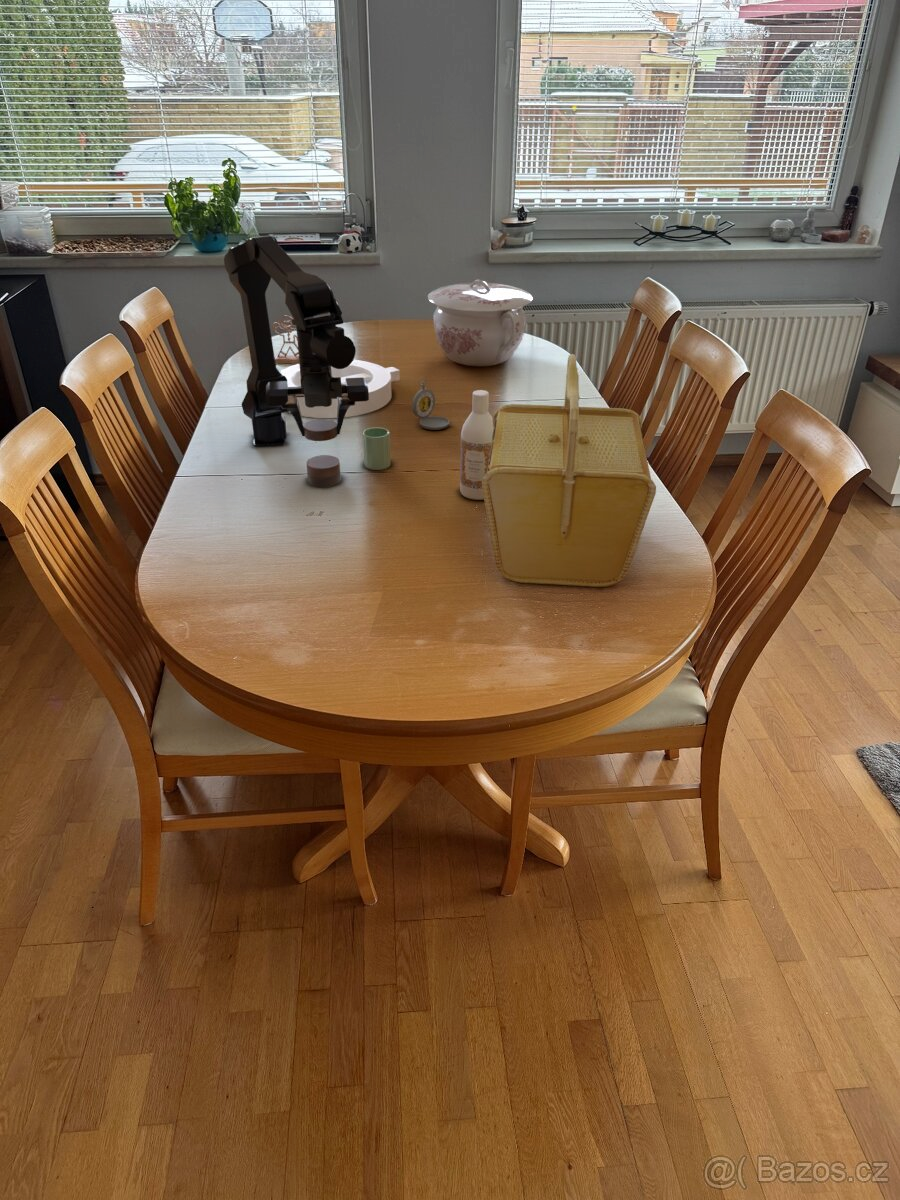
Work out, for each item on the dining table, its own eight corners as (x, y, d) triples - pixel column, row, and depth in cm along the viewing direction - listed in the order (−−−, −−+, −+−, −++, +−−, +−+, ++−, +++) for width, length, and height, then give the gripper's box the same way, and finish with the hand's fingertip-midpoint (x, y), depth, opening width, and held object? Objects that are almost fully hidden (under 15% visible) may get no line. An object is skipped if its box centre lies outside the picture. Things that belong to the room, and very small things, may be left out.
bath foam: (455, 498, 167) (456, 396, 156) (465, 483, 173) (467, 384, 162) (490, 503, 165) (494, 401, 155) (500, 487, 171) (504, 388, 160)
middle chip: (307, 479, 169) (306, 469, 168) (307, 465, 175) (306, 456, 174) (341, 477, 170) (340, 467, 169) (339, 463, 175) (338, 454, 174)
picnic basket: (490, 505, 165) (495, 346, 148) (629, 512, 162) (650, 351, 146) (478, 588, 140) (483, 408, 124) (642, 597, 138) (668, 416, 122)
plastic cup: (365, 470, 177) (363, 438, 174) (363, 459, 182) (361, 428, 178) (391, 469, 178) (390, 436, 174) (389, 458, 183) (387, 426, 179)
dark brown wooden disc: (304, 442, 165) (303, 432, 164) (303, 429, 171) (302, 419, 169) (338, 440, 166) (337, 430, 165) (336, 427, 171) (336, 417, 170)
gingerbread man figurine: (309, 359, 237) (305, 314, 230) (305, 363, 234) (302, 318, 227) (276, 358, 238) (272, 313, 231) (273, 362, 234) (268, 317, 228)
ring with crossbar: (402, 381, 222) (402, 362, 220) (375, 421, 199) (374, 401, 197) (296, 374, 226) (295, 356, 224) (258, 413, 203) (255, 393, 201)
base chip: (308, 488, 170) (307, 479, 169) (307, 474, 176) (307, 465, 175) (341, 486, 171) (341, 477, 170) (339, 472, 177) (339, 463, 175)
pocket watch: (446, 432, 194) (446, 388, 189) (409, 429, 196) (408, 385, 190) (453, 419, 201) (453, 376, 196) (417, 416, 202) (416, 373, 197)
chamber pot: (436, 341, 250) (435, 265, 239) (532, 346, 247) (536, 269, 236) (419, 373, 227) (418, 291, 216) (525, 379, 224) (530, 296, 213)
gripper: (261, 370, 152) (271, 454, 160) (369, 365, 154) (373, 448, 163) (262, 351, 161) (271, 431, 170) (364, 346, 164) (368, 425, 172)
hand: (320, 434), depth 168 cm, fingers closed on dark brown wooden disc, 6 cm apart
